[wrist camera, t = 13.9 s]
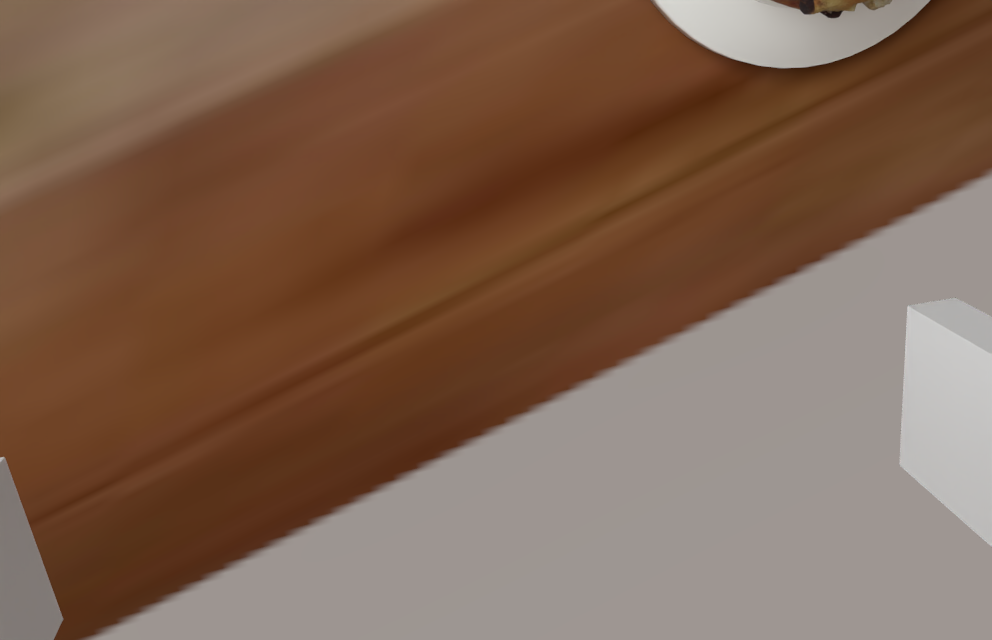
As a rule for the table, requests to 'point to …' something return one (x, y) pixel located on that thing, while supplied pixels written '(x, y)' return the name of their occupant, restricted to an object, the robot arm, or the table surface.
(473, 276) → the table surface
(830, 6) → the bread roll
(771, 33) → the plate
